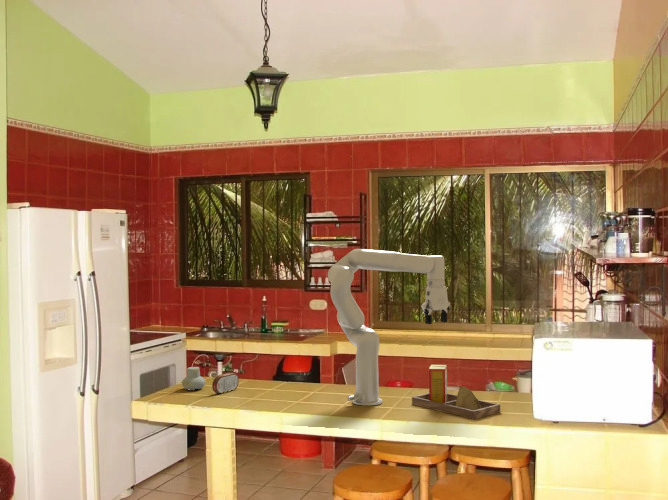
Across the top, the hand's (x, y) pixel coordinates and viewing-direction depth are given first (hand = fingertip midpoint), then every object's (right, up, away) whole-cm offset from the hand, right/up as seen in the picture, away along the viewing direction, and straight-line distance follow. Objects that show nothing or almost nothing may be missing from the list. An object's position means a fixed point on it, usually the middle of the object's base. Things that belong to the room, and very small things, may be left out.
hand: (436, 322), depth 304 cm
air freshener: (-110, -34, +23) cm, 118 cm away
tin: (-94, -34, +15) cm, 101 cm away
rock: (+9, -33, -26) cm, 43 cm away
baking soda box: (-1, -33, -13) cm, 35 cm away
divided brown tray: (+5, -33, -20) cm, 39 cm away
